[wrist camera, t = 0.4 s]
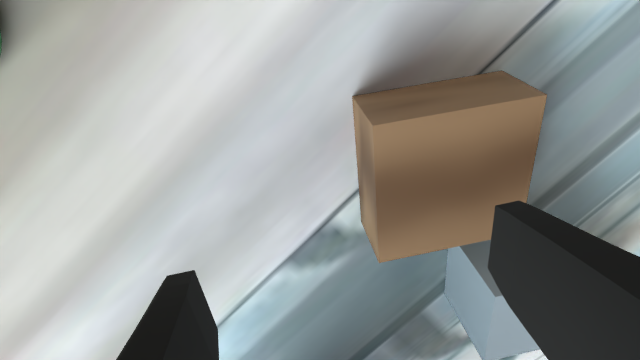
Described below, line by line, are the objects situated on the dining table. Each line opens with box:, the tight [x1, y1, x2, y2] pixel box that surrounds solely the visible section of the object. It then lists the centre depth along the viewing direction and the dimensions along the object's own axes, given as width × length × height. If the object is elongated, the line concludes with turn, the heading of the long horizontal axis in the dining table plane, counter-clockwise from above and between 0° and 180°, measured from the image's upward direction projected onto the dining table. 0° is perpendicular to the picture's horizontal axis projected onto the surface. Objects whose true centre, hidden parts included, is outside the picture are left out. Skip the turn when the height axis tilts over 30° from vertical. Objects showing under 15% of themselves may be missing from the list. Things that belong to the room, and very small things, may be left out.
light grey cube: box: [444, 240, 540, 360], centre depth 23 cm, size 5×5×5 cm
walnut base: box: [352, 71, 547, 263], centre depth 19 cm, size 7×7×4 cm
